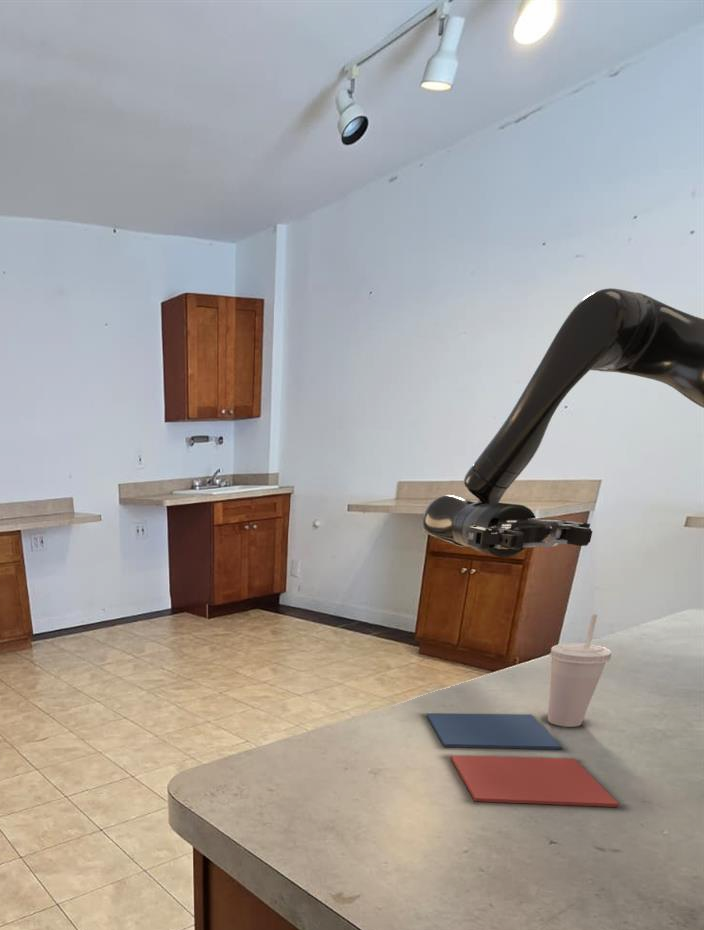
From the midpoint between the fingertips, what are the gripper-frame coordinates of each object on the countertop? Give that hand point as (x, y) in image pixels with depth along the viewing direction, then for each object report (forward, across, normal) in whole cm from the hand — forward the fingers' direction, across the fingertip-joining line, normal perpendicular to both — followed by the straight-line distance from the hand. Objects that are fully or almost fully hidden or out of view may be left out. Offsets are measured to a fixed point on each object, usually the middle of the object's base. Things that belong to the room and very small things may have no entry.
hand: (553, 539), depth 85 cm
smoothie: (+11, 0, +22) cm, 25 cm away
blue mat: (+14, -10, +22) cm, 28 cm away
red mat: (+28, -13, +22) cm, 37 cm away
